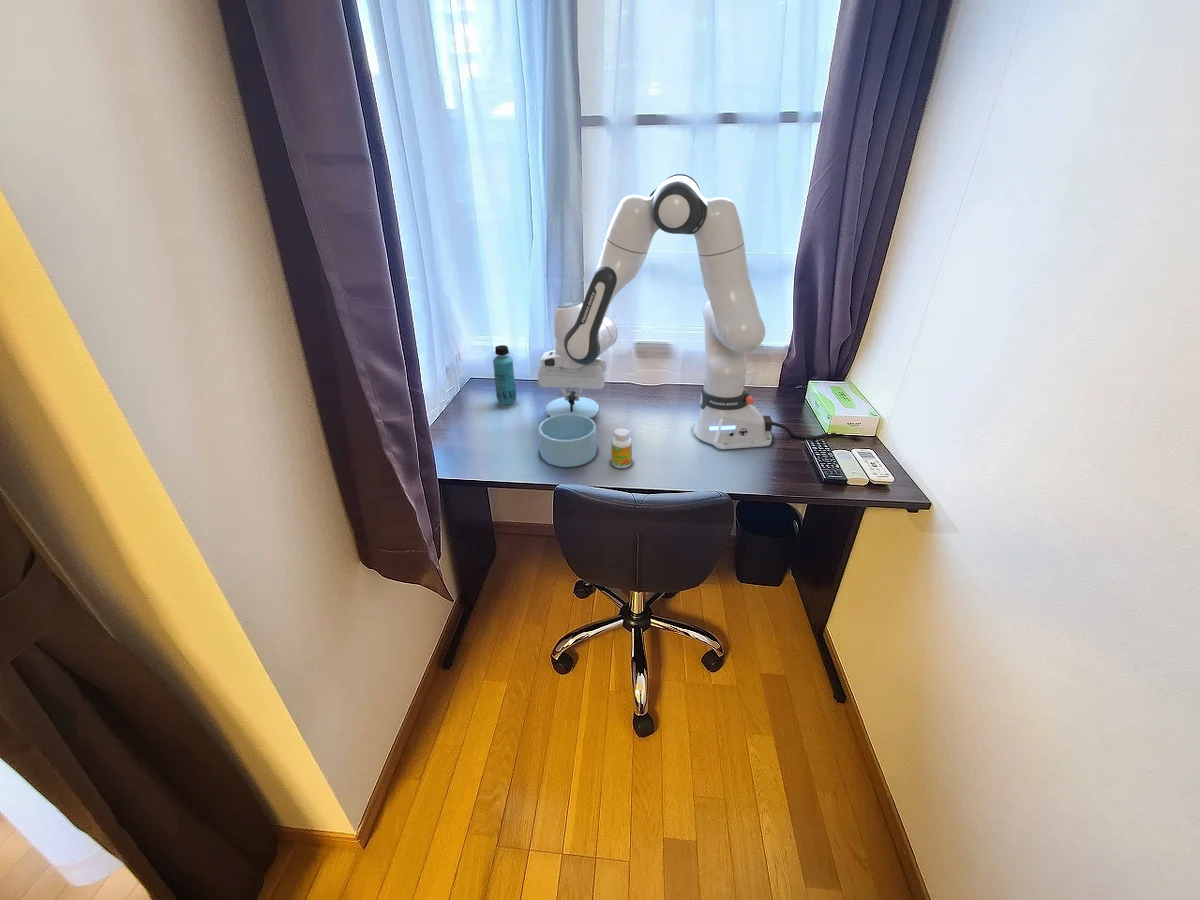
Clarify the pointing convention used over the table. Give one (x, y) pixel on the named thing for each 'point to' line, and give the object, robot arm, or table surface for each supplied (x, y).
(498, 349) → the beverage bottle
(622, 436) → the supplement bottle
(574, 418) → the pot
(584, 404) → the lid
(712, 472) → the table surface
